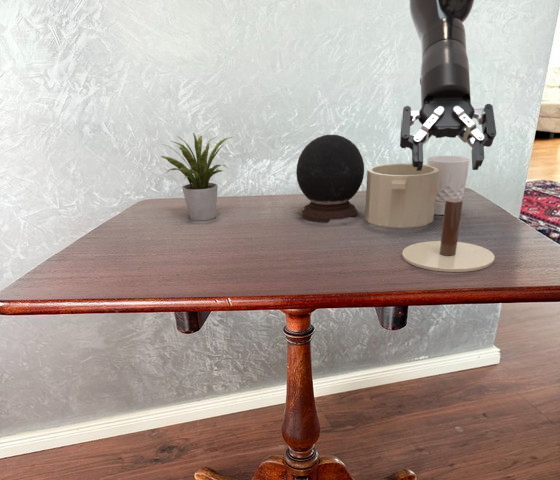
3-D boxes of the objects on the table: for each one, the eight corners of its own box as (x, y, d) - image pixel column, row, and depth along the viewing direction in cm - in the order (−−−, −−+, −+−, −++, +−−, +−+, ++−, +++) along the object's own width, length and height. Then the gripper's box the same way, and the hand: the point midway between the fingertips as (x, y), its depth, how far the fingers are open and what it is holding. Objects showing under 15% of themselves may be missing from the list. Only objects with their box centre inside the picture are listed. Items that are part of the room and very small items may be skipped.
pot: (433, 211, 110) (439, 161, 105) (431, 236, 95) (437, 179, 90) (371, 209, 113) (373, 160, 108) (359, 233, 98) (361, 178, 93)
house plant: (222, 204, 121) (215, 124, 113) (253, 216, 111) (248, 129, 102) (162, 215, 114) (150, 130, 106) (190, 228, 104) (179, 136, 96)
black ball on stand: (284, 215, 111) (281, 135, 103) (332, 204, 118) (333, 129, 110) (326, 227, 102) (327, 141, 94) (376, 215, 108) (380, 133, 101)
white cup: (448, 218, 104) (455, 163, 99) (414, 211, 110) (419, 159, 105) (470, 210, 109) (478, 157, 104) (436, 204, 114) (442, 154, 109)
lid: (490, 249, 87) (500, 191, 83) (496, 278, 76) (508, 213, 71) (404, 245, 91) (409, 189, 86) (398, 273, 79) (403, 210, 75)
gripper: (402, 62, 85) (404, 152, 80) (497, 59, 83) (503, 150, 79) (397, 98, 92) (398, 182, 88) (483, 96, 90) (489, 181, 86)
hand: (448, 167), depth 83 cm, fingers open, 8 cm apart
